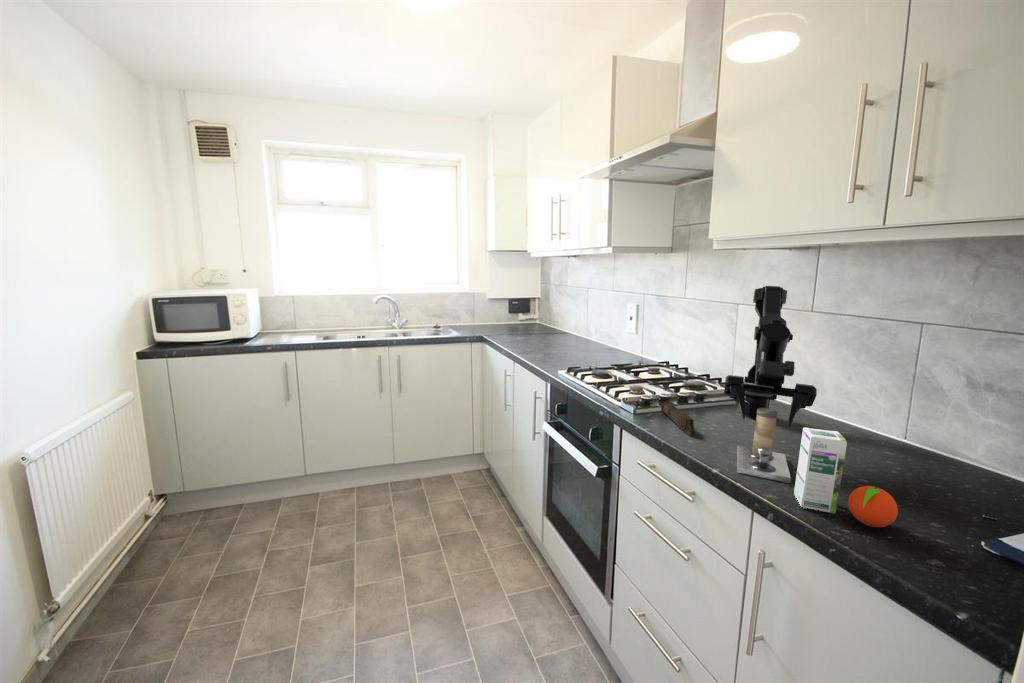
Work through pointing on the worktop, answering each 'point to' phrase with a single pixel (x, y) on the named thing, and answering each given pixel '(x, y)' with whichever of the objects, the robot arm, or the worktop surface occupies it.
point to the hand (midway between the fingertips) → (766, 421)
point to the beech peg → (764, 430)
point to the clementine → (872, 506)
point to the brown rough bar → (678, 417)
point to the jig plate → (754, 472)
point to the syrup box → (820, 469)
